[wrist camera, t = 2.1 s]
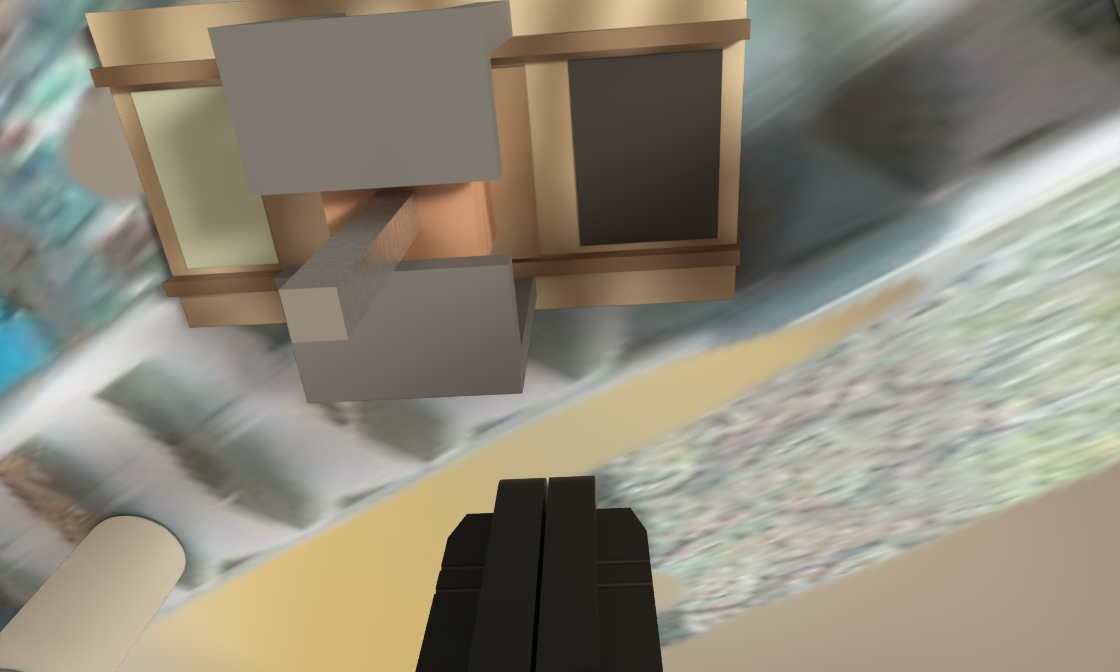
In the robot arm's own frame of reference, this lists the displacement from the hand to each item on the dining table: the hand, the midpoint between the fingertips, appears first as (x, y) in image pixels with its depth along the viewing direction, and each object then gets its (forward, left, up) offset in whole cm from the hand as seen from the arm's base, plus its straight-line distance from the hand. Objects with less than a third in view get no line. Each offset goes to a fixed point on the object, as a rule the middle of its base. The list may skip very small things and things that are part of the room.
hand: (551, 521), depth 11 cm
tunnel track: (+7, 0, -28) cm, 29 cm away
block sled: (+7, 0, -26) cm, 27 cm away
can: (+31, +25, -28) cm, 49 cm away
